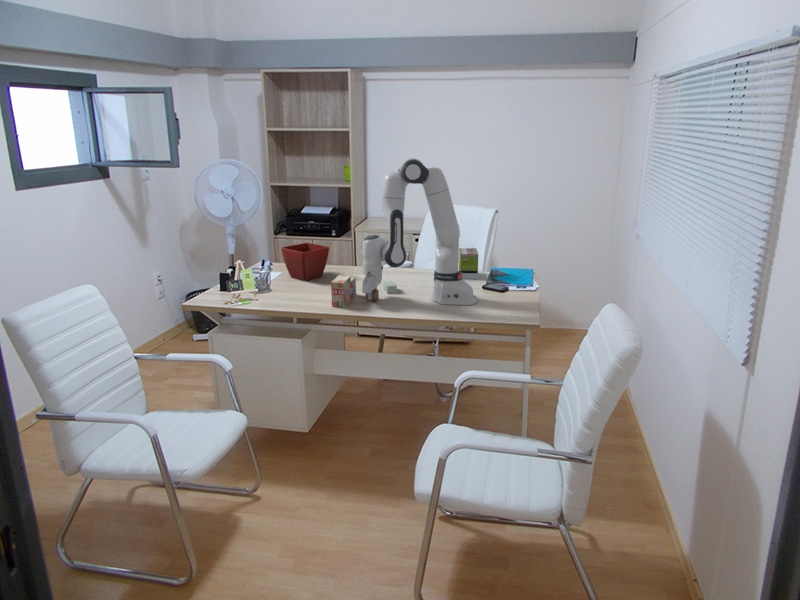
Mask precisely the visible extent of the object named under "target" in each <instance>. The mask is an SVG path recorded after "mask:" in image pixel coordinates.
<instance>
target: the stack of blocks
mask: <svg viewBox="0 0 800 600" xmlns="http://www.w3.org/2000/svg"><path fill="white" fill-rule="evenodd" d="M330 285H331V286H330V288H331V289H330V290H331V291H330V293H331V307H332V306H333V308H346V306H348V304H349V303H350V302H351V301H352V299H354V297H356V295H357V283H356V276H351V275H340V274H339V275H337V276H336V277H335V278H334V279H333V280H331V283H330Z"/></svg>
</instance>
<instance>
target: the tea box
mask: <svg viewBox="0 0 800 600" xmlns="http://www.w3.org/2000/svg"><path fill="white" fill-rule="evenodd" d="M458 271H459V272H462V279H477V280H478V275H479V274H478V273H479V252H478V250H477V248H476V247H459V261H458Z"/></svg>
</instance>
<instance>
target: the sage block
mask: <svg viewBox="0 0 800 600" xmlns="http://www.w3.org/2000/svg"><path fill="white" fill-rule="evenodd" d="M383 291H385V293H386V294H389V295H390V294H397V293H398V285H397V284H396V283H395V282H394V281H383Z"/></svg>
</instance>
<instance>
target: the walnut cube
mask: <svg viewBox="0 0 800 600" xmlns="http://www.w3.org/2000/svg"><path fill="white" fill-rule="evenodd" d="M379 297H380V296H379V289H377V290H373V291H372V299H371V300H369V299H368V295H367V293H365V302H366V303H377V302H378V301H379Z"/></svg>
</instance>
